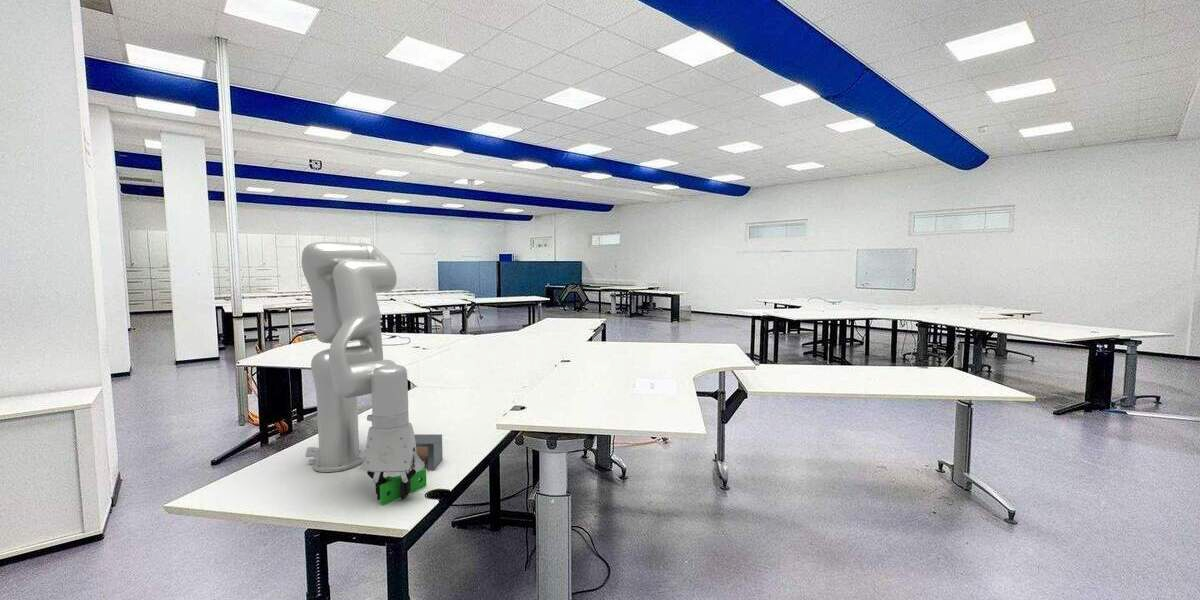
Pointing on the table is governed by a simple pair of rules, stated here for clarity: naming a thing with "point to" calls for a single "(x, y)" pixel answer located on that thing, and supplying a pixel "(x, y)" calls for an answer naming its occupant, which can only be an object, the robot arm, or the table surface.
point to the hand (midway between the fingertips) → (393, 496)
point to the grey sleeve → (429, 449)
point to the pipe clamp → (392, 486)
